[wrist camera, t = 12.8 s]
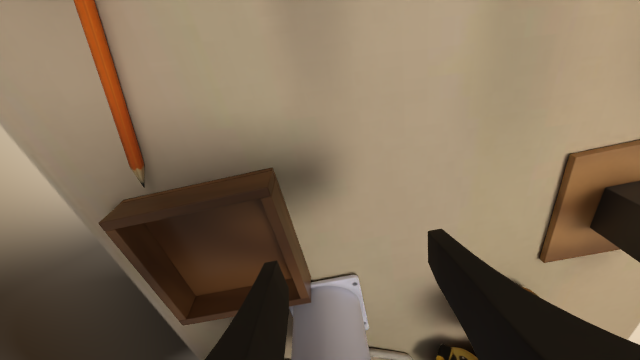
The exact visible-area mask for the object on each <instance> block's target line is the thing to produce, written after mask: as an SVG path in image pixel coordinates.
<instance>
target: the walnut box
mask: <svg viewBox="0 0 640 360" xmlns="http://www.w3.org/2000/svg"><path fill="white" fill-rule="evenodd" d="M99 225H100V226H101V227H102V229H103V230H104V231H106V234H107V235H108V236H109V237H110V238H111V240H112V241H113V242H114V243H115V244H116V246H117V247H118V248H119V249H120V250H121V252H122V253H123V254H124V255H125V256H126V258H127V259H128V260H129V261H130V262H131V264H132V265H133V266H134V267H135V268H136V270H137V271H138V272H139V273H140V275H141V276H142V277H143V278H144V279H145V281H146V282H147V283H148V284H149V285H150V287H151V288H152V289H153V290H154V291H155V293H156V294H157V295H158V296H159V297H160V299H161V300H162V301H163V302H164V303H165V305H166V306H167V307H168V308H169V309H170V311H171V312H172V313H173V314H174V315H175V317H176V318H177V319H178V320H179V322H180V323H181V324H182V325H189V324H195V323H200V322H206V321H211V320H217V319H223V318H228V317H234V316H235V315H236V314H237V312H238V311H239V309H240V307H241V306H242V304H243V302H244V300H245V298H246V297H247V295H248V293H249V291H250V290H251V288H252V286H253V284H254V282H255V280H256V278H257V276H258V274H259V272H260V270H261V268H262V266H263V265H264V263H265V262H271V261H276V260H277V261H278V264H279V266H280V268H281V271H282V273H283V275H284V278H285V280H286V283H287V285H288V287H289V307H290V306H295V305H301V304H307V303H311V276H310V273H309V270H308V267H307V264H306V261H305V258H304V256H303V253H302V250H301V247H300V244H299V241H298V238H297V235H296V233H295V230H294V227H293V224H292V221H291V218H290V215H289V213H288V210H287V207H286V204H285V201H284V198H283V195H282V193H281V190H280V187H279V184H278V181H277V178H276V175H275V172H274V170H273V168H269V169H264V170H259V171H255V172H250V173H246V174H241V175H236V176H232V177H227V178H223V179H218V180H214V181H209V182H204V183H200V184H195V185H191V186H186V187H181V188H177V189H172V190H168V191H163V192H159V193H154V194H149V195H145V196H140V197H136V198H131V199H126V200H123V201H122V202H121V203H120V204H119V205H118V206H117V207H116V208H115V209H114V210H112V211H111V212H110V213H109V214H108V215H107V216H106V217H105V218H104V219H103V220H101V221H100V222H99Z"/></svg>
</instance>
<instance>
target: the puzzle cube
mask: <svg viewBox="0 0 640 360" xmlns="http://www.w3.org/2000/svg"><path fill="white" fill-rule="evenodd" d="M590 228H591V229H592V230H594V231H595V232H597V233H598V234H600V235H601V236H602V237H604V238H605V239H607V240H608V241H610V242H611V243H613V244H614V245H615V246H617V247H618V248H620V249H621V250H623V251H624V252H626V253H627V254H629V255H630V256H631V257H633V258H634V259H636V260H637V261H639V262H640V181H636V182H631V183H626V184H620V185H615V186H610V187H606V188H605V189H604V192H603V194H602V197H601V199H600V202H599V205H598V207H597V210H596V212H595V215H594V217H593V220H592V222H591V225H590Z"/></svg>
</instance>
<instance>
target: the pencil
mask: <svg viewBox="0 0 640 360" xmlns="http://www.w3.org/2000/svg"><path fill="white" fill-rule="evenodd" d="M74 3H75V6H76V9H77V12H78V15H79V18H80V21H81V23H82V26H83V29H84V32H85V35H86V38H87V41H88V44H89V47H90V50H91V53H92V56H93V59H94V62H95V65H96V68H97V71H98V74H99V77H100V80H101V83H102V86H103V89H104V92H105V95H106V97H107V100H108V103H109V106H110V109H111V112H112V115H113V118H114V121H115V124H116V127H117V130H118V133H119V136H120V139H121V142H122V145H123V148H124V151H125V154H126V157H127V160H128V163H129V166H130V168H131V169H132V171H133V172H134V174H135V175H136V177H137V178H138V180H139V181H140V183H141V184H142V185H143V187H144V188H145V179H144V162H143V158H142V155H141V152H140V149H139V145H138V142H137V139H136V136H135V132H134V129H133V126H132V123H131V119H130V116H129V113H128V109H127V106H126V103H125V100H124V96H123V93H122V90H121V87H120V83H119V80H118V77H117V73H116V70H115V67H114V64H113V60H112V57H111V54H110V51H109V47H108V44H107V41H106V38H105V34H104V31H103V28H102V24H101V21H100V18H99V15H98V11H97V8H96V5H95V2H94V0H74Z"/></svg>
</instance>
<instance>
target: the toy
mask: <svg viewBox="0 0 640 360" xmlns="http://www.w3.org/2000/svg"><path fill="white" fill-rule="evenodd" d="M435 360H478V358H477V357H476V356H474V355H473V354H472V353H470V352H468V351H467V350H464V349H461V348H457V347H449V346H446V345H444V344H441V345H440V347H439V350H438V353H437V356H436V359H435Z"/></svg>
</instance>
